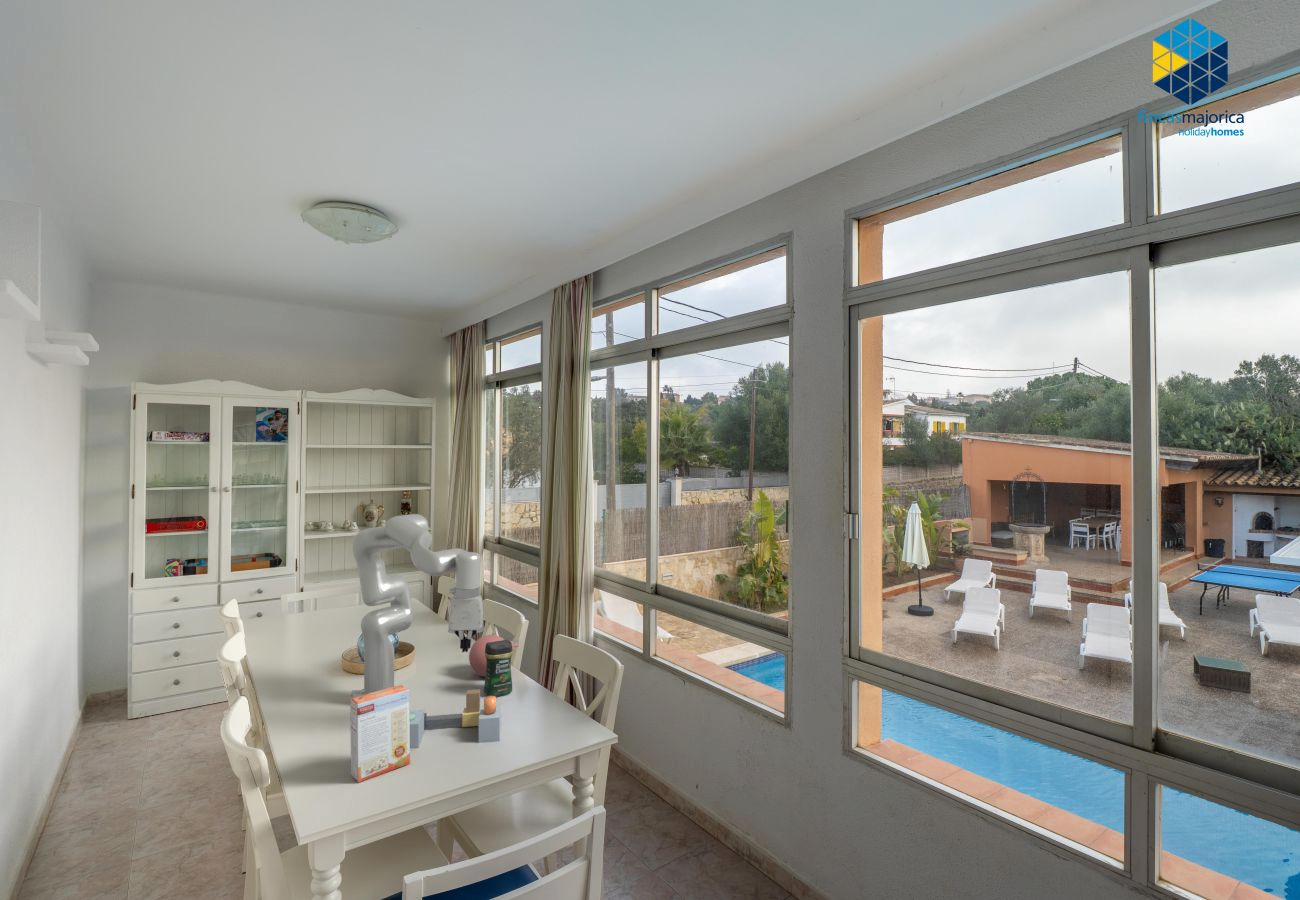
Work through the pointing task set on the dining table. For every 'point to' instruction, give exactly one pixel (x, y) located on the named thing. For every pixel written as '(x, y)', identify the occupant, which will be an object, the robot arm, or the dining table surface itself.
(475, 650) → the pink rounded piece
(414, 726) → the cabinet near
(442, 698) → the dining table surface
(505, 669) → the coffee jar
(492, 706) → the orange rounded cube
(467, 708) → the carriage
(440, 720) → the rail
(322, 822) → the dining table surface
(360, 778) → the cracker box
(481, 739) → the cabinet far
